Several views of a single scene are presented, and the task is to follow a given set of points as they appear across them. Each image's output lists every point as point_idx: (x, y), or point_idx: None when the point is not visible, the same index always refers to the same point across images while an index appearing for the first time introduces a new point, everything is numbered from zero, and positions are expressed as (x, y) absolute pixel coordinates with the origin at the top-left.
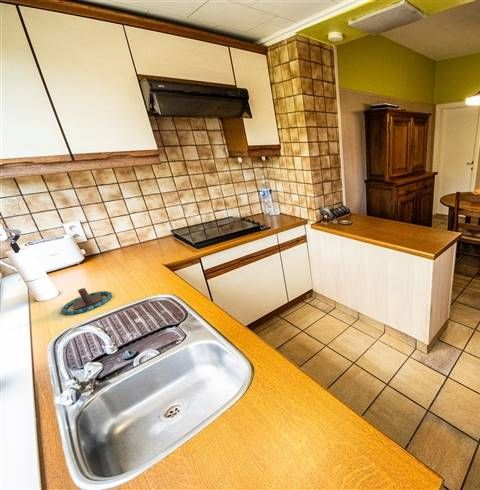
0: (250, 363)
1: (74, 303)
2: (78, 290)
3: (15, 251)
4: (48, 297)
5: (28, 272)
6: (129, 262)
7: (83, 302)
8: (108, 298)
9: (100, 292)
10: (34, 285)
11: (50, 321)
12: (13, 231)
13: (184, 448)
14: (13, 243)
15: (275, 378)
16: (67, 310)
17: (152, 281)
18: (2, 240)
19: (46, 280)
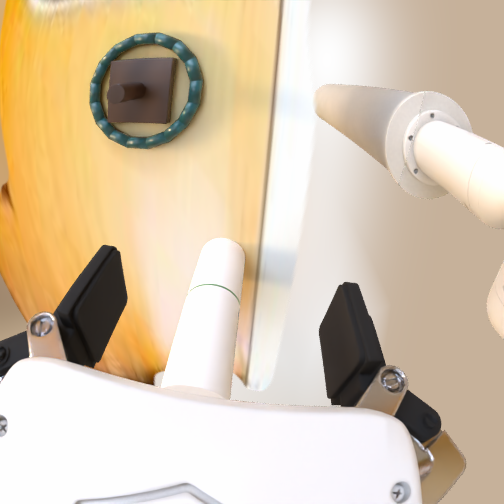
0: None
1: (166, 103)
2: (122, 93)
3: (104, 253)
4: (220, 240)
5: (212, 309)
6: None
7: (147, 87)
8: (99, 62)
9: (107, 126)
10: (224, 274)
11: (234, 57)
12: None
13: None
14: (61, 322)
15: None
16: (187, 68)
17: (25, 108)
18: (48, 358)
19: (195, 278)
